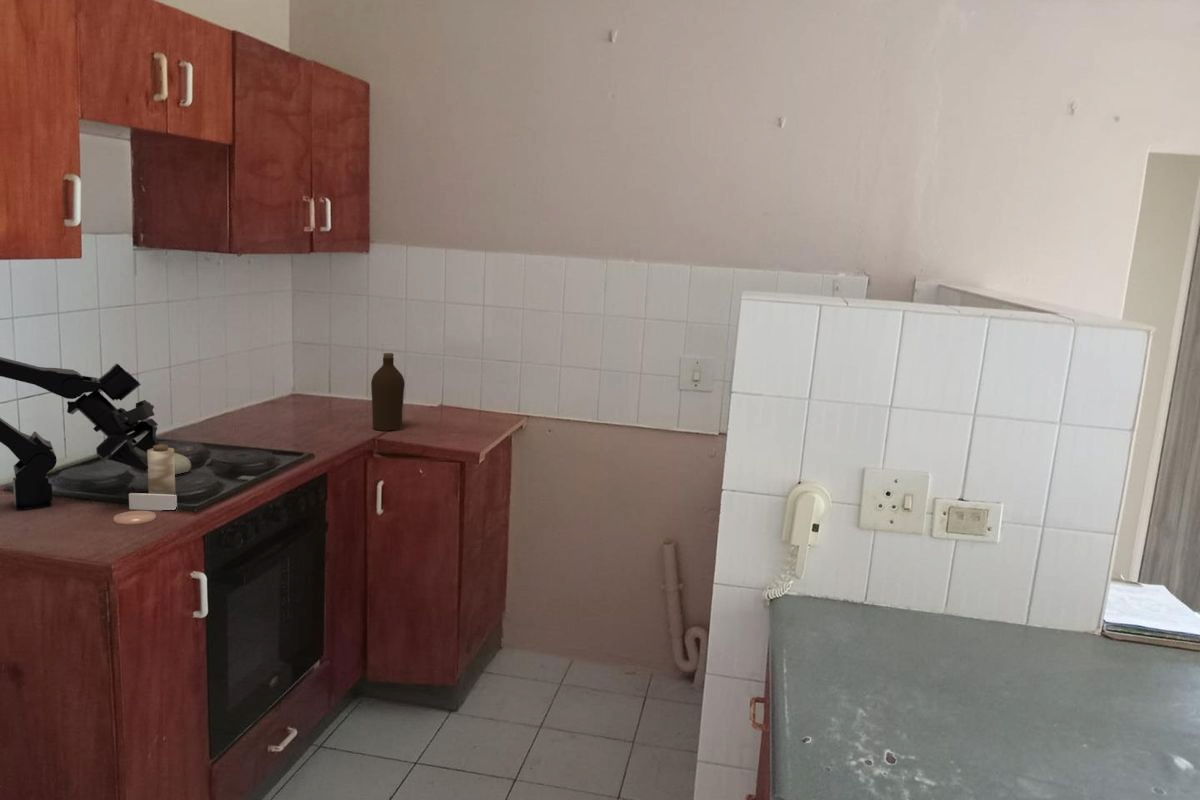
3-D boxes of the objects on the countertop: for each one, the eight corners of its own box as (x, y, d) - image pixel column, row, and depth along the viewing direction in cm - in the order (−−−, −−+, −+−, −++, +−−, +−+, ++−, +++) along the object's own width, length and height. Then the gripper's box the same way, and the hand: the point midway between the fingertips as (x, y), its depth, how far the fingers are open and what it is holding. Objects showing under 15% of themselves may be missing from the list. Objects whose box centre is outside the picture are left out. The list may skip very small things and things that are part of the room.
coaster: (118, 527, 183) (118, 524, 183) (109, 516, 189) (109, 514, 189) (160, 521, 188) (160, 518, 188) (150, 511, 194) (150, 508, 194)
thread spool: (152, 505, 198) (150, 449, 196) (146, 499, 202) (144, 444, 200) (178, 502, 201) (176, 447, 199) (171, 496, 206) (170, 442, 203)
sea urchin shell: (200, 466, 225) (177, 447, 220) (179, 490, 222) (155, 473, 217) (184, 458, 231) (161, 440, 226) (163, 482, 228) (140, 465, 223)
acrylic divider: (129, 509, 194) (128, 494, 194) (131, 508, 195) (130, 493, 195) (175, 510, 195) (175, 495, 194) (177, 509, 196) (176, 494, 195)
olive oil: (379, 433, 283) (380, 356, 278) (365, 426, 291) (366, 351, 286) (409, 430, 289) (410, 355, 285) (394, 424, 297) (396, 350, 293)
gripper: (108, 398, 188) (163, 450, 191) (147, 384, 206) (196, 432, 209) (72, 432, 189) (127, 484, 191) (114, 415, 207) (164, 462, 210)
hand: (156, 464), depth 200 cm, fingers open, 9 cm apart
